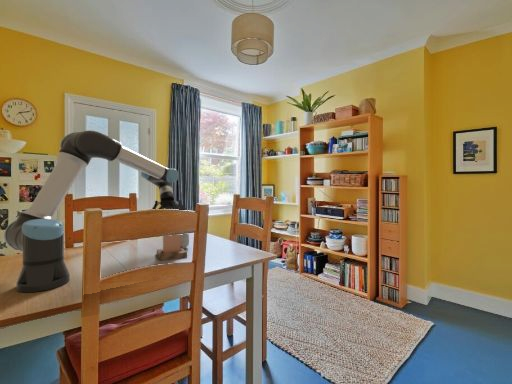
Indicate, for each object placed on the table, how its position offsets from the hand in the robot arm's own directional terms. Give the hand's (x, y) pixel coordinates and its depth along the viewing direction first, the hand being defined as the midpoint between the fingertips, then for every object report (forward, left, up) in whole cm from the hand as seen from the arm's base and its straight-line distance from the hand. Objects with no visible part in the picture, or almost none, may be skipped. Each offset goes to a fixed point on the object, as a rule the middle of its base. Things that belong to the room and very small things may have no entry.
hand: (171, 225), depth 139 cm
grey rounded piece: (+7, +9, -15) cm, 19 cm away
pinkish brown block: (-1, -5, -15) cm, 16 cm away
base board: (-1, -5, -15) cm, 16 cm away
